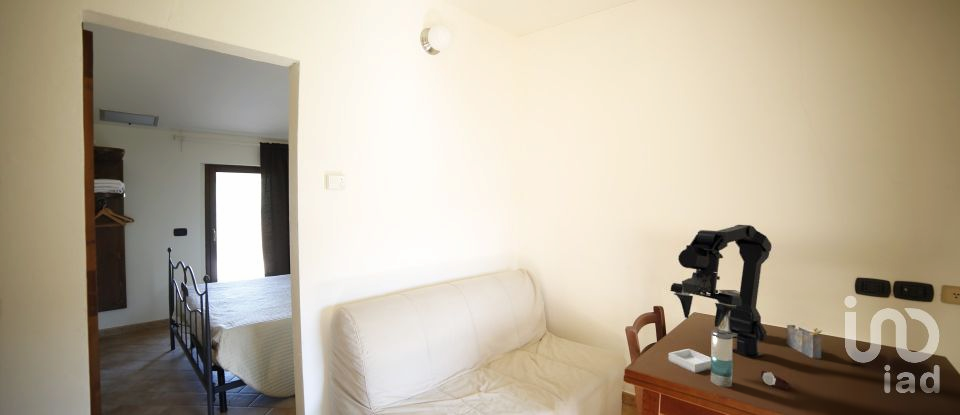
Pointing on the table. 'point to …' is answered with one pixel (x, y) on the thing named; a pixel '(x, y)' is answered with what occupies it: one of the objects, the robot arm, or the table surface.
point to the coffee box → (725, 322)
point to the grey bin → (690, 360)
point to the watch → (774, 380)
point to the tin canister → (721, 358)
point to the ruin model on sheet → (804, 341)
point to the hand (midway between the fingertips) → (700, 322)
